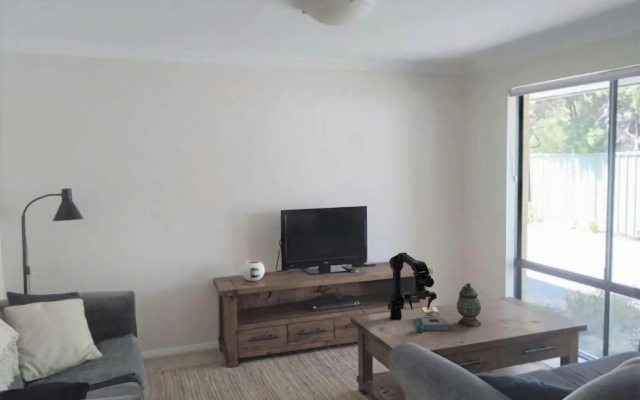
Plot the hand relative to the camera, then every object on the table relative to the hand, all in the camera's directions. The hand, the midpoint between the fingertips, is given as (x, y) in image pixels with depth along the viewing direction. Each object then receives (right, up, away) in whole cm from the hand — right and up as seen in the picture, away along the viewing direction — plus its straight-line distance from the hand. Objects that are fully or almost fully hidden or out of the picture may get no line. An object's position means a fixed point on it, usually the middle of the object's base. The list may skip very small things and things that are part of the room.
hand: (419, 309), depth 287 cm
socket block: (+10, -12, +10) cm, 19 cm away
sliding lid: (+11, -7, +21) cm, 25 cm away
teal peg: (0, -13, +1) cm, 13 cm away
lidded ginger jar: (+33, -11, +13) cm, 37 cm away
